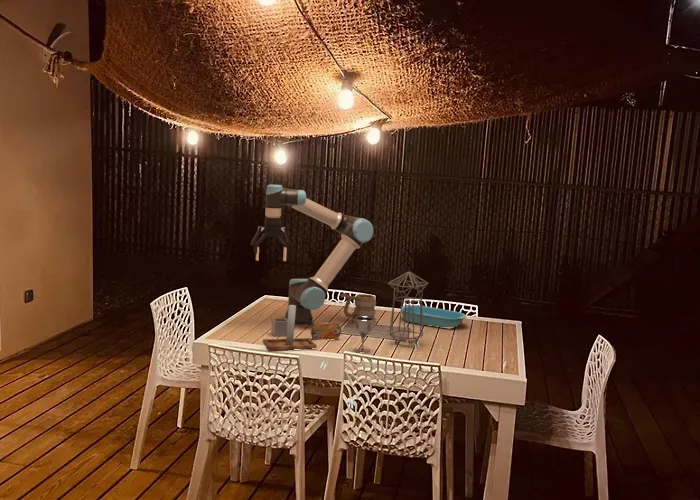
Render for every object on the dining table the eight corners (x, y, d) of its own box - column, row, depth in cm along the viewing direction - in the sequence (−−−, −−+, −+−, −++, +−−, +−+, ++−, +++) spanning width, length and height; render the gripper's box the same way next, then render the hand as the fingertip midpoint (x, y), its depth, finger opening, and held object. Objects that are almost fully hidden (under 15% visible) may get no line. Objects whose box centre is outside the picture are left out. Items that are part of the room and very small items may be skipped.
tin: (312, 342, 309) (313, 324, 308) (309, 340, 311) (310, 322, 310) (340, 340, 316) (342, 322, 315) (338, 338, 318) (339, 321, 317)
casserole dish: (470, 325, 365) (471, 312, 364) (458, 333, 345) (459, 319, 344) (408, 315, 381) (409, 303, 380) (393, 322, 361) (394, 309, 360)
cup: (284, 334, 319) (285, 318, 318) (288, 338, 313) (288, 321, 312) (271, 334, 317) (271, 318, 316) (274, 338, 311) (275, 321, 310)
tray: (308, 342, 308) (308, 338, 307) (316, 349, 296) (316, 345, 296) (262, 343, 300) (262, 339, 300) (269, 351, 288) (269, 347, 288)
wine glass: (352, 348, 302) (354, 316, 300) (369, 348, 303) (372, 316, 301) (354, 353, 294) (356, 320, 293) (371, 353, 295) (374, 320, 293)
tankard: (375, 319, 363) (377, 292, 362) (375, 324, 351) (377, 297, 349) (339, 317, 364) (341, 290, 362) (338, 322, 351) (339, 294, 350)
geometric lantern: (413, 350, 305) (416, 275, 301) (383, 344, 313) (386, 271, 309) (427, 343, 318) (431, 271, 314) (398, 338, 327) (401, 268, 322)
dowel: (291, 343, 300) (294, 304, 298) (293, 345, 297) (296, 306, 295) (284, 343, 299) (288, 304, 297) (286, 345, 296) (289, 306, 294)
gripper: (295, 216, 326) (293, 259, 329) (245, 215, 317) (243, 259, 320) (300, 218, 319) (297, 261, 322) (248, 216, 310) (247, 261, 313)
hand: (270, 260), depth 321 cm, fingers open, 13 cm apart
